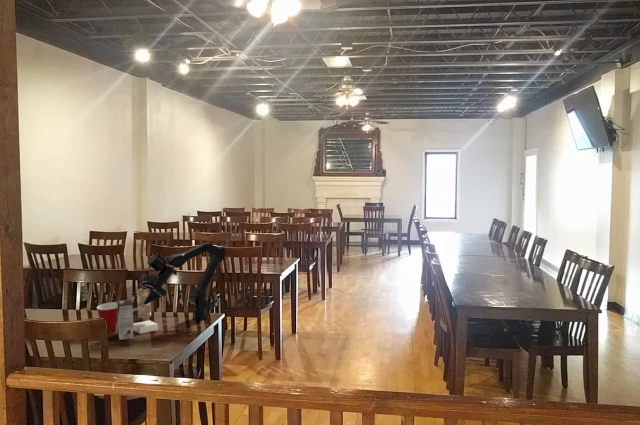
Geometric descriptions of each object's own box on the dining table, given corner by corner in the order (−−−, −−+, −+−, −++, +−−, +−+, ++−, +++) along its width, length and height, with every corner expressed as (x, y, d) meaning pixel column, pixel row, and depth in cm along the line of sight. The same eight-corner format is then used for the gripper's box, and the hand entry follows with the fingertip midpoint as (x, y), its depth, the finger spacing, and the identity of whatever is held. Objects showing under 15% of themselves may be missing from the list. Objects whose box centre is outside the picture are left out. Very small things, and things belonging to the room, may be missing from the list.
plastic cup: (92, 331, 252) (91, 306, 252) (108, 325, 263) (107, 301, 262) (110, 333, 249) (109, 308, 248) (126, 327, 259) (125, 303, 258)
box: (146, 321, 270) (146, 307, 269) (142, 324, 264) (142, 310, 263) (134, 322, 269) (133, 307, 269) (130, 325, 263) (130, 310, 263)
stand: (149, 326, 260) (149, 320, 260) (158, 330, 254) (157, 323, 254) (131, 329, 254) (131, 323, 254) (139, 333, 248) (139, 327, 248)
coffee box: (117, 334, 247) (116, 300, 246) (132, 333, 249) (131, 299, 248) (118, 340, 238) (117, 304, 237) (133, 338, 241) (132, 303, 240)
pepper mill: (151, 314, 257) (150, 284, 256) (150, 317, 251) (149, 286, 251) (138, 315, 256) (137, 284, 255) (137, 318, 250) (136, 287, 249)
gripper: (142, 264, 262) (121, 290, 255) (159, 269, 248) (137, 296, 241) (158, 278, 268) (137, 303, 261) (175, 283, 254) (154, 310, 247)
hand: (141, 303), depth 252 cm, fingers closed on pepper mill, 6 cm apart
